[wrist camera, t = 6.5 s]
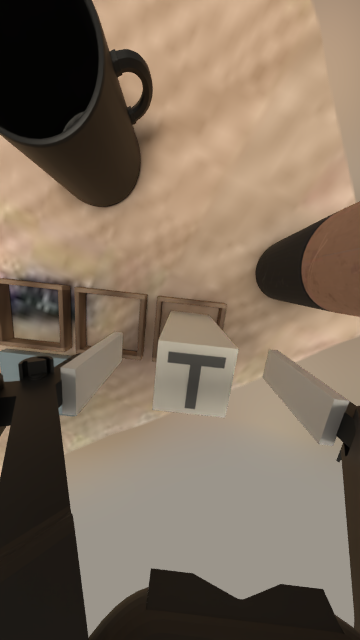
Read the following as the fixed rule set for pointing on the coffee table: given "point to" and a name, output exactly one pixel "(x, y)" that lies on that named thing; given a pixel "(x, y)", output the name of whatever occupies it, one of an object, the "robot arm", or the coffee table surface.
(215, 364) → the letter block
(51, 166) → the mug
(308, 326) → the coffee table surface
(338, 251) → the travel mug
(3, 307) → the wooden picture frame
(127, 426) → the coffee table surface
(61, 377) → the robot arm
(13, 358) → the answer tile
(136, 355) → the wooden window frame
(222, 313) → the wooden frame right
